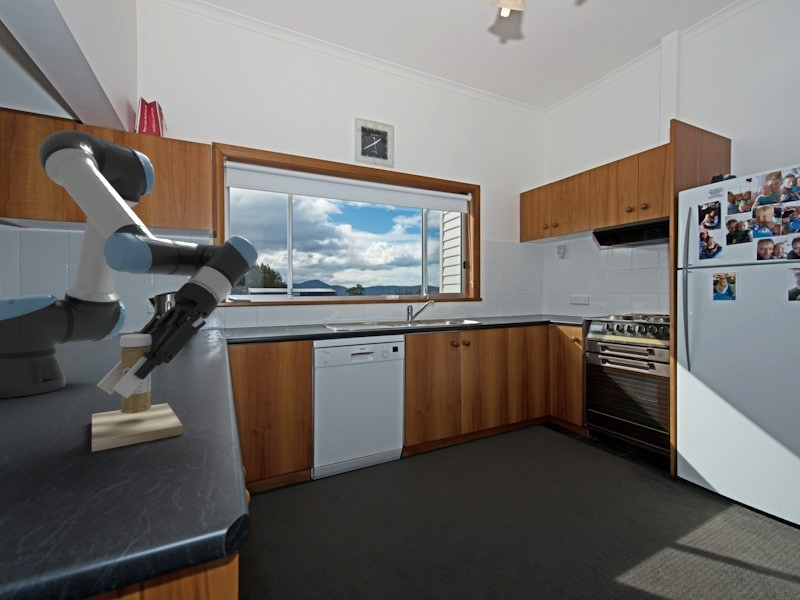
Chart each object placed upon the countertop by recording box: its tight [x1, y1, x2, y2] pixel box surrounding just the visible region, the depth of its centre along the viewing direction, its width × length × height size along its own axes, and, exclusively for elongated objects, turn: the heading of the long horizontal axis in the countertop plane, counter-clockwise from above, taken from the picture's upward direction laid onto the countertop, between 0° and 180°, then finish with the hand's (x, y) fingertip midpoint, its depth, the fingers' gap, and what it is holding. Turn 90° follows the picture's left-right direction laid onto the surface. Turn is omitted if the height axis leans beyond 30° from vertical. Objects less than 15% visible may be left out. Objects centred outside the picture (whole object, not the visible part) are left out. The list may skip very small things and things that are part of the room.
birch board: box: [91, 402, 184, 453], centre depth 68 cm, size 17×12×2 cm
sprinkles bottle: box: [119, 333, 152, 414], centre depth 68 cm, size 5×5×14 cm
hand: (112, 391), depth 64 cm, fingers closed on sprinkles bottle, 4 cm apart
